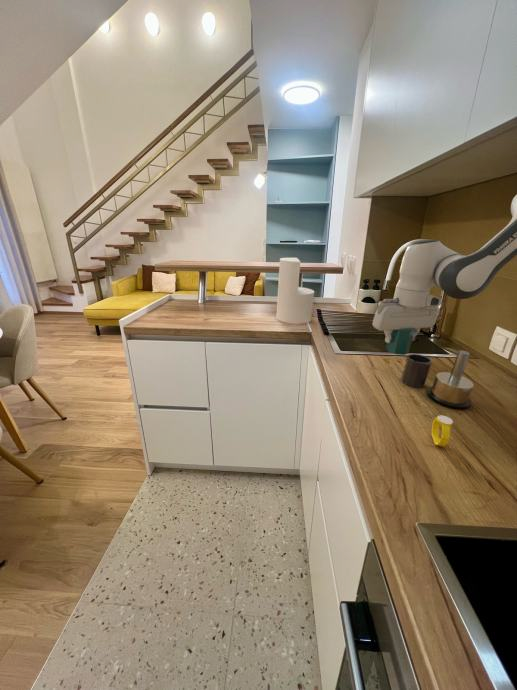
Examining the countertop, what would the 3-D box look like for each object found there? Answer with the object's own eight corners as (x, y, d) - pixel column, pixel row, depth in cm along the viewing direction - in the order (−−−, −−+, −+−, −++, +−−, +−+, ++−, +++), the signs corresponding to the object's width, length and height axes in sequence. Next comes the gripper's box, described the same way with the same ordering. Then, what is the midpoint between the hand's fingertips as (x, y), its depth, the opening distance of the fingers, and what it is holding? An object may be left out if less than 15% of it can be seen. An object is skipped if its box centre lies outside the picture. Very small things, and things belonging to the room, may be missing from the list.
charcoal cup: (420, 378, 86) (427, 355, 82) (427, 389, 80) (435, 364, 77) (399, 376, 87) (405, 352, 84) (404, 386, 81) (410, 361, 78)
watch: (426, 430, 63) (433, 409, 61) (440, 433, 63) (447, 411, 60) (433, 449, 58) (441, 426, 56) (448, 452, 57) (457, 429, 55)
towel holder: (460, 391, 79) (476, 346, 74) (477, 412, 70) (497, 363, 65) (422, 386, 81) (435, 342, 76) (434, 406, 72) (450, 358, 67)
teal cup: (404, 347, 91) (410, 324, 88) (410, 355, 85) (416, 331, 82) (384, 345, 92) (390, 322, 89) (388, 353, 86) (394, 329, 83)
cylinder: (276, 322, 131) (280, 261, 120) (276, 312, 147) (279, 257, 136) (313, 324, 131) (320, 262, 120) (308, 313, 146) (314, 258, 135)
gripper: (387, 301, 77) (377, 347, 82) (446, 299, 82) (433, 343, 87) (373, 296, 82) (364, 339, 88) (429, 294, 87) (418, 335, 93)
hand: (399, 341), depth 87 cm, fingers closed on teal cup, 6 cm apart
